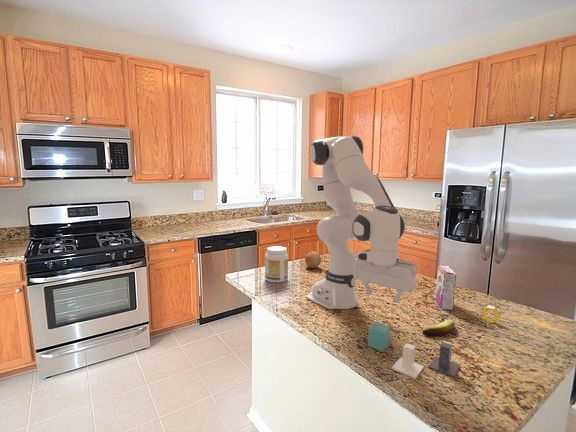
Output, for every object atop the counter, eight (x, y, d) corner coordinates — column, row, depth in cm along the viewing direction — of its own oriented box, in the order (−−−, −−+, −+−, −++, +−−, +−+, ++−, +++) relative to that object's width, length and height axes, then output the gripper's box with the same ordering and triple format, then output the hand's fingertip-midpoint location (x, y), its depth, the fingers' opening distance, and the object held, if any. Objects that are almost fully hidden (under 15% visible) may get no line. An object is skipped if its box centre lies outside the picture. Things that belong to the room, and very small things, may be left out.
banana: (447, 364, 99) (448, 352, 99) (378, 327, 122) (378, 317, 121) (501, 334, 118) (502, 324, 118) (433, 307, 141) (434, 299, 140)
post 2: (428, 367, 96) (430, 345, 95) (435, 357, 102) (437, 336, 101) (453, 377, 92) (456, 354, 91) (459, 366, 97) (462, 344, 96)
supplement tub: (280, 274, 179) (281, 244, 177) (292, 280, 169) (293, 249, 167) (261, 277, 173) (261, 246, 170) (271, 284, 163) (272, 252, 160)
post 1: (391, 368, 95) (393, 346, 94) (400, 358, 101) (402, 337, 100) (415, 379, 91) (417, 356, 90) (423, 367, 96) (425, 346, 95)
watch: (498, 324, 125) (501, 310, 124) (493, 325, 125) (495, 311, 123) (485, 316, 131) (487, 303, 130) (479, 317, 130) (482, 304, 129)
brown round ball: (316, 271, 186) (316, 254, 184) (301, 268, 191) (301, 251, 190) (323, 267, 194) (324, 251, 192) (309, 264, 199) (309, 248, 198)
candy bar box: (434, 299, 148) (437, 264, 146) (446, 300, 147) (449, 265, 145) (440, 309, 137) (444, 272, 135) (453, 310, 136) (457, 273, 134)
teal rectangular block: (367, 345, 108) (368, 327, 107) (374, 339, 112) (375, 321, 111) (382, 351, 104) (383, 332, 103) (389, 345, 108) (390, 326, 107)
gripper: (420, 260, 99) (417, 303, 101) (360, 249, 112) (358, 288, 114) (413, 264, 94) (410, 309, 96) (351, 253, 108) (349, 293, 109)
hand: (382, 297), depth 105 cm, fingers open, 8 cm apart
